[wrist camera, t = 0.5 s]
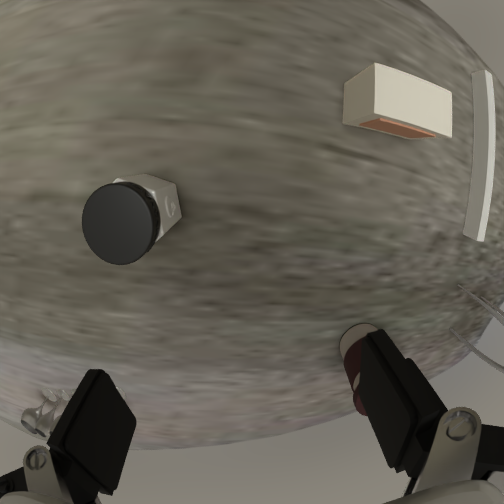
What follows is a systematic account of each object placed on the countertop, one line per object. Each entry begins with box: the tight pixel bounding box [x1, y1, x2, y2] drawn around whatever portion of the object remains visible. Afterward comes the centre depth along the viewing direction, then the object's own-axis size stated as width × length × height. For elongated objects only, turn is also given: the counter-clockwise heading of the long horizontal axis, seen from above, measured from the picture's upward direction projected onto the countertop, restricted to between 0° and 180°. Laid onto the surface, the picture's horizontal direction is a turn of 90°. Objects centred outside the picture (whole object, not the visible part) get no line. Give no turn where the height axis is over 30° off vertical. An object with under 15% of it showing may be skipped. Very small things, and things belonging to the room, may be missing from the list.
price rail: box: [463, 70, 495, 241], centre depth 32 cm, size 30×2×4 cm, turn 176°
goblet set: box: [21, 387, 126, 437], centre depth 41 cm, size 28×6×13 cm, turn 106°
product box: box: [342, 63, 452, 140], centre depth 28 cm, size 6×11×10 cm, turn 86°
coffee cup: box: [340, 324, 404, 416], centre depth 37 cm, size 10×10×15 cm
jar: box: [82, 174, 182, 265], centre depth 30 cm, size 9×8×12 cm
